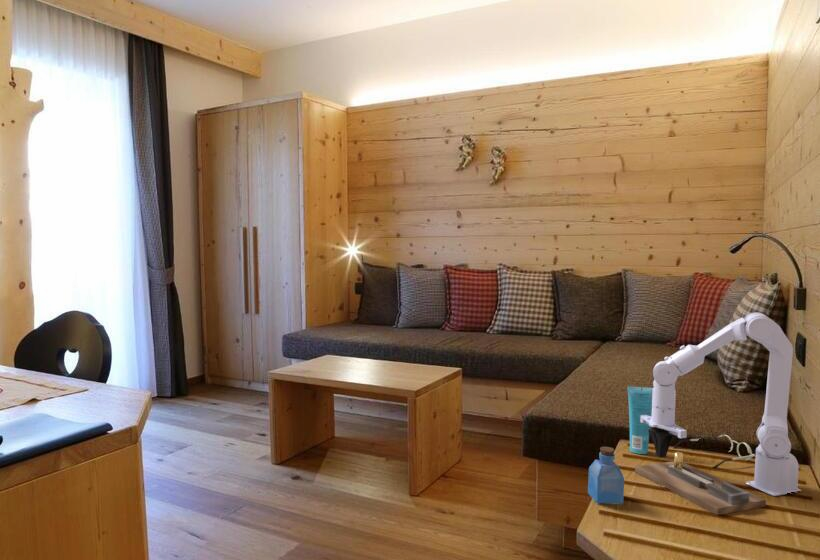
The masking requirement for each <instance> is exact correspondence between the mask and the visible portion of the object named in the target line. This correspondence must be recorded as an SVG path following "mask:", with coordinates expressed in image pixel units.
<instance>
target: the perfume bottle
mask: <svg viewBox="0 0 820 560" xmlns="http://www.w3.org/2000/svg"><path fill="white" fill-rule="evenodd" d="M599 450H600V452H599V453H598V454H599V455H598V456H599V457H598V458H599V459H594V460H593V462H592V463H591V465H590V466H589V467H588V482H587V483H588V484H587V494H588V495H589V496H590V498H591V499H592V500H593V501H594V500H595V501H594V502H595V504H596V503H619V504H618V505H621V504H620V503H623V504H624V498H625V497H624V496H625V495H624V493H625V492H624V490H625V477H624V475H623V472H622V471H621V469H620V466H619V465H618V464H617V463H616V462H615V455H616V454H614V453H615V449H614V448H613V447H610V446H600V448H599ZM593 498H594V499H593Z"/></svg>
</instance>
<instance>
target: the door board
mask: <svg viewBox="0 0 820 560" xmlns="http://www.w3.org/2000/svg"><path fill="white" fill-rule="evenodd" d="M672 465H674V460H673V461H666V462H665V461H664V462H660V463H659V462H658V463H652V464H645V465H638V466H635V470H634V472H635V473H636V474H638V475H640V476H642V477H643V478H646V479H648V480H649V481H651V482H653V483H655V484H657V483H658V484H657V485H659V484H660V485H659V486H661V485H663V486H665V487H667V488H668V489H670V490H671V491H670V490H669V491H670V492H672V493H674V494H677V495H678V496H680V497H682V498H684V499H685V500H687V501H689V502H691V503H693V504H695V505H696V506H699V507H701V508H703V509H704V510H706V511H707V512H711V513H712V514H714V515H715V516H720V515H724V514H725V515H727V514H730V513H735V512H740V511H741V512H742V511H747V510H751V509H757V508H758V509H759V508H763V507H766V505H767V499H766V498H763V497H761V496H759V495H756V494H754V493H751V492H750V491H747V490H745V489H743V488H740V487H739V486H736V485H735V484H732V483H730V482H727V481H725V480H723V479H721V478H719V477H716V476H715V475H712V474H710V473H708V472H706V471H703V470H701V469H699V468H696V467H694V466H692V465H690V464H687V463H686V462H684V461H683V464H682V469H685V470H687V471H689V472H691V473H693V474H695V475H697V476H700V477H702V478H704V479H706V480H708V481H710V482H712V483H713V485H708V488H707V489H706V488H704V487H702V481H700V480H698V479H696V478H694V477H692V476H690V475H688V474H686V473H683V472H681V471H679V470H677V469H675V468H673V467H669V466H672ZM663 486H662V487H663ZM668 489H667V490H668Z"/></svg>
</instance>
